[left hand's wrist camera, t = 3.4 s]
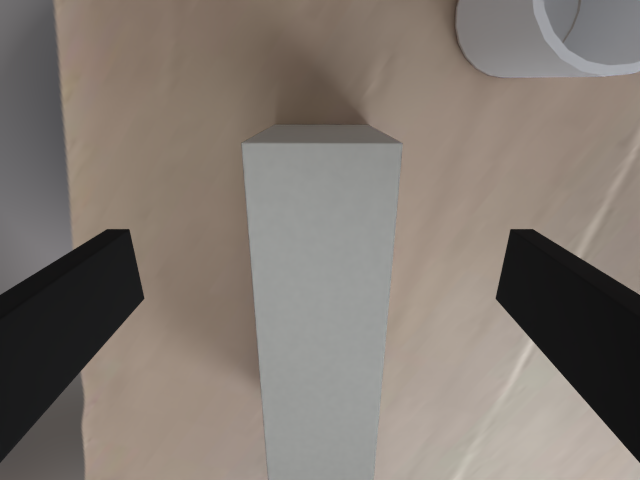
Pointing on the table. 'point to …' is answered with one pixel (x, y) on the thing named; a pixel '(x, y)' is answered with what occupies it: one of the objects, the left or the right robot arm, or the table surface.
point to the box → (321, 291)
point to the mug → (550, 37)
